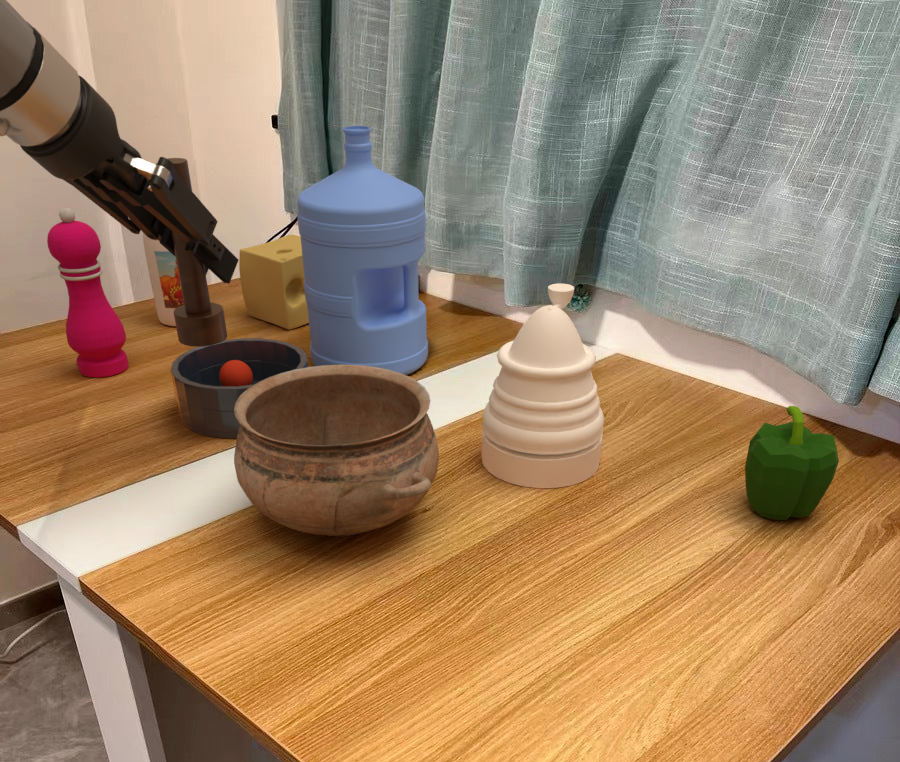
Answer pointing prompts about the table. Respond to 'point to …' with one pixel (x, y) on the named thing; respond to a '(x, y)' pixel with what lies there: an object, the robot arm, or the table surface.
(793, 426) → the bell pepper
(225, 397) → the bowl
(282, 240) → the cheese
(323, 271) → the water jug
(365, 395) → the cooking pot
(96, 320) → the pepper mill
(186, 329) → the wooden peg on base
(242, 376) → the ball
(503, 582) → the table surface
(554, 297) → the honey pot
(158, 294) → the milk bottle
